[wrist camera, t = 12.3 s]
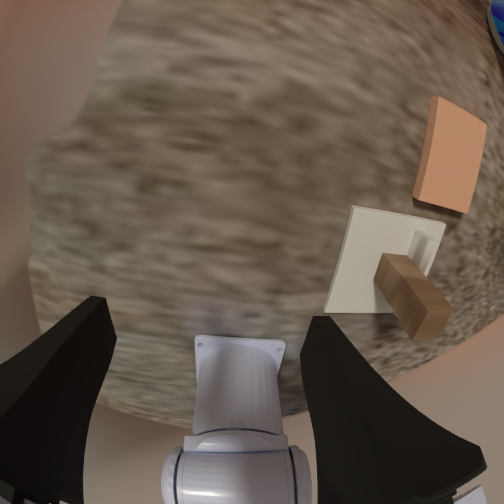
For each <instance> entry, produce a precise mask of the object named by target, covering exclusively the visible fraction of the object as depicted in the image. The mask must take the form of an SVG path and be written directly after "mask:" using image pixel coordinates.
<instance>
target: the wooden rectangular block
mask: <svg viewBox="0 0 504 504" xmlns="http://www.w3.org/2000/svg"><path fill="white" fill-rule="evenodd" d="M435 244H436V241H435V240H434V239H433V238H432V237H430V236H429V235H428V234H427V233H426V232H424V231H423V230H419V229H415V231H414V234H413V238H412V241H411V243H410V246H409V249H408V252H407V255H399V254H389V253H382V256H381V259H380V262H379V264H378V267H377V270H376V273H375V276H374V279H373V280H374V281H375V283H376V284H377V286H378V287H379V289H380V291H381V292H382V294H383V295H384V297H385V298H386V300H387V301H388V304H389V306H390V308H391V309H392V311H393V312H394V314H395V316H396V317H398V319H399V320H400V322H401V324H402V325H403V327H404V329H405V330H406V332H407V334H408V335H409V337H410V339H411V341H415V340H424V339H433V338H438V336H439V335H440V333H441V331H442V330H443V328H444V326H445V324H446V323H447V321H448V319H449V317H450V316H451V314H452V312H453V310H454V309H453V308H452V306H451V305H450V304H449V303H448V301H447V300H446V299H445V298H444V297H443V295H442V294H441V293H440V292H439V291H438V290H437V288H436V287H435V286H434V285H433V284H432V283H431V282H430V280H429V279H428V278H427V277H426V276H425V275H424V272H425V270H426V267H427V265H428V262H429V260H430V257H431V254H432V252H433V249H434V246H435Z"/></svg>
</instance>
